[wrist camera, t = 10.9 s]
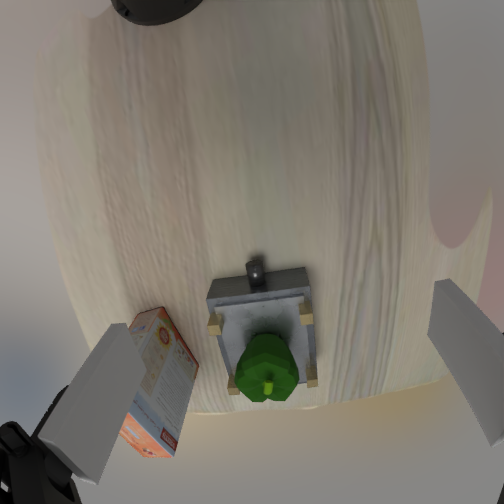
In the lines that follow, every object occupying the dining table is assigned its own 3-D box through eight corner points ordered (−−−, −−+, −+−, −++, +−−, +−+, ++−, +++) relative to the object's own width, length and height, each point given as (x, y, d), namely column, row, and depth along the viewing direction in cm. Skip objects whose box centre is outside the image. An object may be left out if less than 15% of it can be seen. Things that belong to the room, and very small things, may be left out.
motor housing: (208, 261, 46) (195, 291, 37) (302, 248, 44) (310, 276, 36) (236, 366, 53) (231, 403, 45) (313, 357, 52) (319, 395, 43)
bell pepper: (280, 375, 45) (281, 424, 36) (230, 357, 44) (222, 407, 35) (307, 337, 42) (315, 387, 33) (254, 316, 41) (250, 366, 32)
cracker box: (136, 313, 50) (82, 398, 31) (164, 305, 49) (115, 396, 30) (173, 371, 55) (142, 459, 35) (200, 365, 54) (175, 459, 34)
